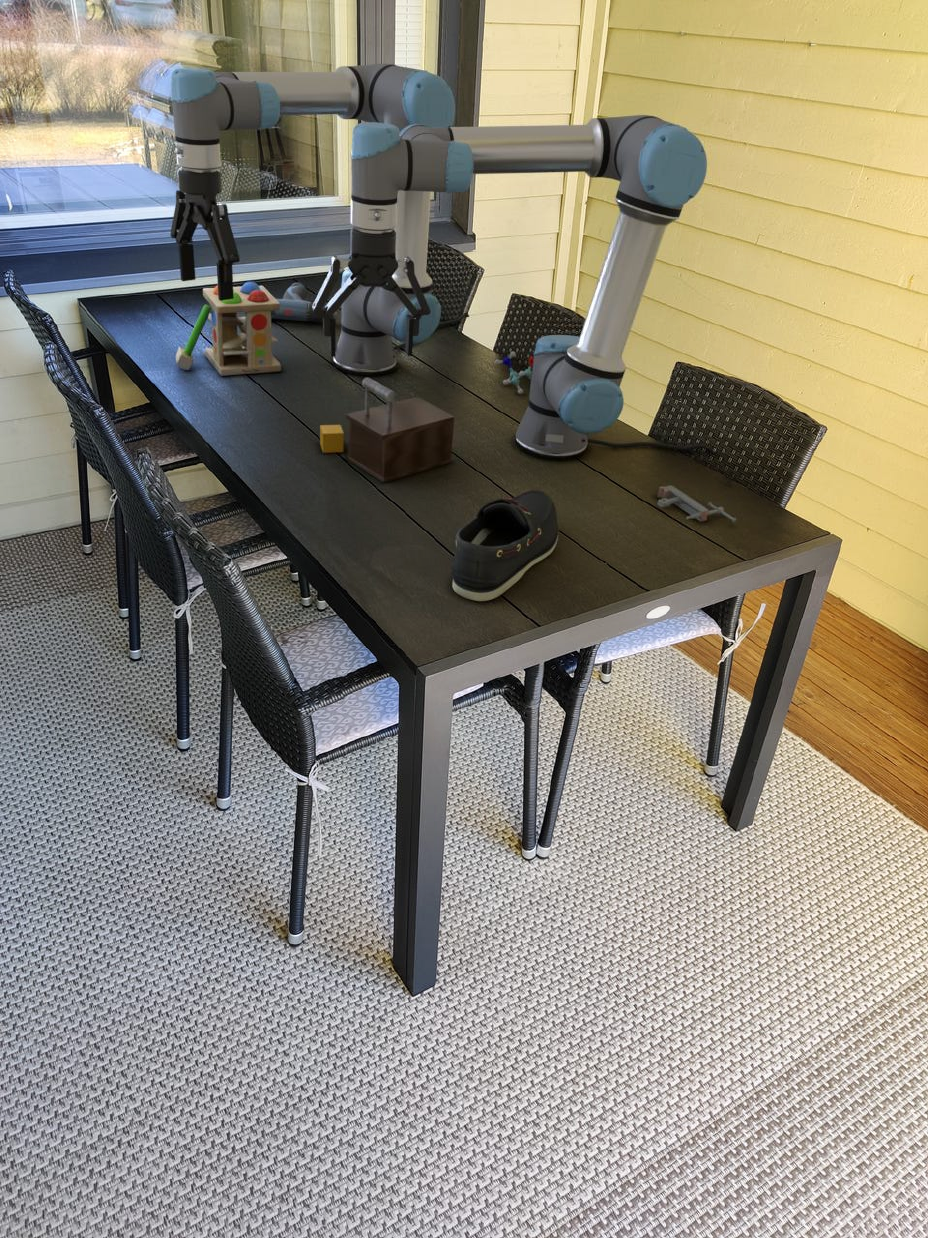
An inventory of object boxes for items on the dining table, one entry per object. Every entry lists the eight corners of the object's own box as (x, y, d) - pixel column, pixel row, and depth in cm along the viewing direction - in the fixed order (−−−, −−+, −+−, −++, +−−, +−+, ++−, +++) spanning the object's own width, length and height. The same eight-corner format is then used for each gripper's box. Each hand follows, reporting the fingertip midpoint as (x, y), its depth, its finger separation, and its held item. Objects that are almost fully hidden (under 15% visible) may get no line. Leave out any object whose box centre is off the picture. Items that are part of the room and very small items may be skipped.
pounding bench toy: (183, 379, 220) (176, 299, 210) (169, 357, 231) (162, 280, 221) (282, 371, 230) (280, 294, 220) (264, 350, 240) (262, 276, 230)
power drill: (344, 304, 276) (335, 327, 259) (277, 298, 275) (264, 321, 258) (344, 285, 273) (335, 306, 256) (277, 279, 272) (264, 300, 255)
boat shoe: (583, 534, 177) (590, 481, 172) (488, 608, 153) (493, 549, 148) (521, 514, 183) (526, 462, 178) (421, 583, 159) (423, 525, 154)
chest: (383, 482, 187) (385, 439, 182) (348, 459, 194) (348, 417, 189) (450, 462, 197) (454, 421, 192) (414, 441, 204) (417, 401, 199)
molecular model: (539, 386, 226) (526, 343, 224) (502, 400, 229) (488, 358, 228) (551, 385, 236) (539, 344, 235) (515, 398, 240) (503, 358, 238)
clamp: (647, 488, 189) (686, 480, 193) (645, 499, 190) (684, 490, 195) (698, 524, 178) (739, 515, 183) (696, 535, 180) (736, 525, 184)
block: (322, 452, 196) (322, 433, 193) (320, 444, 199) (320, 425, 197) (343, 452, 197) (343, 432, 194) (340, 443, 200) (340, 424, 198)
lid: (382, 440, 182) (384, 397, 177) (346, 418, 189) (346, 377, 184) (454, 420, 192) (457, 380, 187) (417, 400, 199) (419, 361, 194)
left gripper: (145, 155, 179) (155, 274, 191) (217, 183, 164) (224, 310, 176) (182, 153, 183) (190, 269, 195) (256, 180, 169) (260, 304, 181)
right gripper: (299, 232, 156) (302, 361, 168) (452, 235, 161) (444, 360, 173) (294, 220, 162) (297, 346, 174) (442, 224, 167) (435, 345, 179)
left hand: (206, 289), depth 186 cm, fingers open, 13 cm apart
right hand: (370, 353), depth 174 cm, fingers open, 13 cm apart
